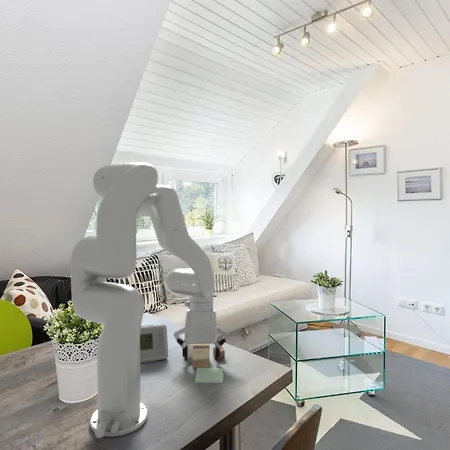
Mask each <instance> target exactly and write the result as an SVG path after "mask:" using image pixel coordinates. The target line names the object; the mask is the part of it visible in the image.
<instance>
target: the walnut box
mask: <svg viewBox="0 0 450 450" xmlns="http://www.w3.org/2000/svg"><path fill="white" fill-rule="evenodd" d="M212 356H213V358H214V359H215V346H213V347H212ZM225 358H226V350H225V349H224V347H223V345H222V346H221V347H220V357H218V360H217V361H223V359H225Z"/></svg>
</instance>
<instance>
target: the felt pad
mask: <svg viewBox="0 0 450 450" xmlns="http://www.w3.org/2000/svg"><path fill="white" fill-rule="evenodd" d="M194 384H224V368H223V367H209V368H196V371H195V378H194Z"/></svg>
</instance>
